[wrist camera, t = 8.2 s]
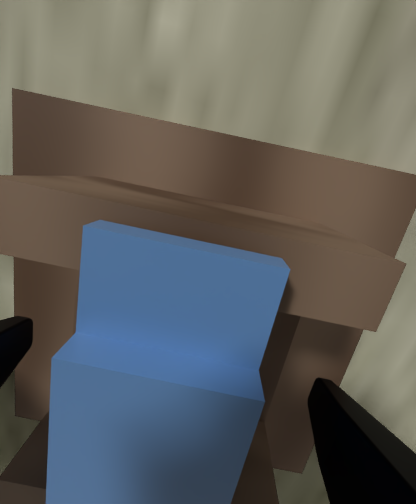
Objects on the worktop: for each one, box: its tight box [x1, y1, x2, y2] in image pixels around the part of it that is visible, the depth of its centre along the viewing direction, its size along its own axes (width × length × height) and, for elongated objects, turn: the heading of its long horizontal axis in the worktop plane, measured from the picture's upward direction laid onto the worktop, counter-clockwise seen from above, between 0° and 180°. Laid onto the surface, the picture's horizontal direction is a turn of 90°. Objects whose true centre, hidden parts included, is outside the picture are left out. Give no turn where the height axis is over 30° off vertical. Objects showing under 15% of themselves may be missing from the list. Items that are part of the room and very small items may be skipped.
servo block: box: [46, 220, 290, 504], centre depth 8 cm, size 3×9×6 cm, turn 168°
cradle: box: [0, 88, 416, 504], centre depth 9 cm, size 14×14×5 cm
